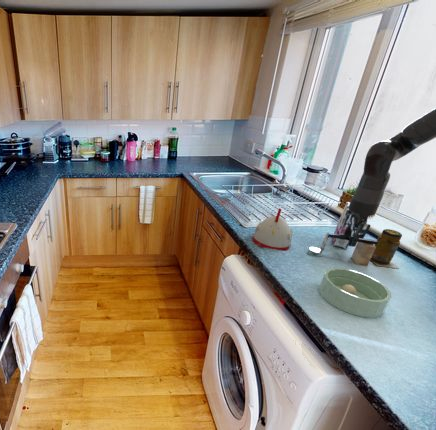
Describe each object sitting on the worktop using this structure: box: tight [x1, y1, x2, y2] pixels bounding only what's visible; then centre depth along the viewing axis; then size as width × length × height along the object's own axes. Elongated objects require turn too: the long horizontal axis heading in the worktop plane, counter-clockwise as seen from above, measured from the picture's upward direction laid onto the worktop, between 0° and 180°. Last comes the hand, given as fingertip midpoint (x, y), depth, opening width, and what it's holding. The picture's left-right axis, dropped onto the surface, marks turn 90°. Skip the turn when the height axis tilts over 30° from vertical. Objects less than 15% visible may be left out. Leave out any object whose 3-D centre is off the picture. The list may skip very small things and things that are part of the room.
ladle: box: [307, 232, 378, 258], centre depth 107 cm, size 19×4×10 cm, turn 69°
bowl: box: [318, 267, 392, 319], centre depth 86 cm, size 16×16×6 cm
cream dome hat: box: [252, 208, 293, 252], centre depth 116 cm, size 14×14×15 cm
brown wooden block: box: [351, 242, 376, 267], centre depth 105 cm, size 3×6×8 cm, turn 159°
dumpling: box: [341, 284, 356, 295], centre depth 88 cm, size 4×4×4 cm
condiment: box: [370, 228, 403, 269], centre depth 105 cm, size 7×8×12 cm
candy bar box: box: [332, 201, 357, 250], centre depth 117 cm, size 11×5×16 cm, turn 145°
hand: (348, 241), depth 105 cm, fingers open, 5 cm apart
